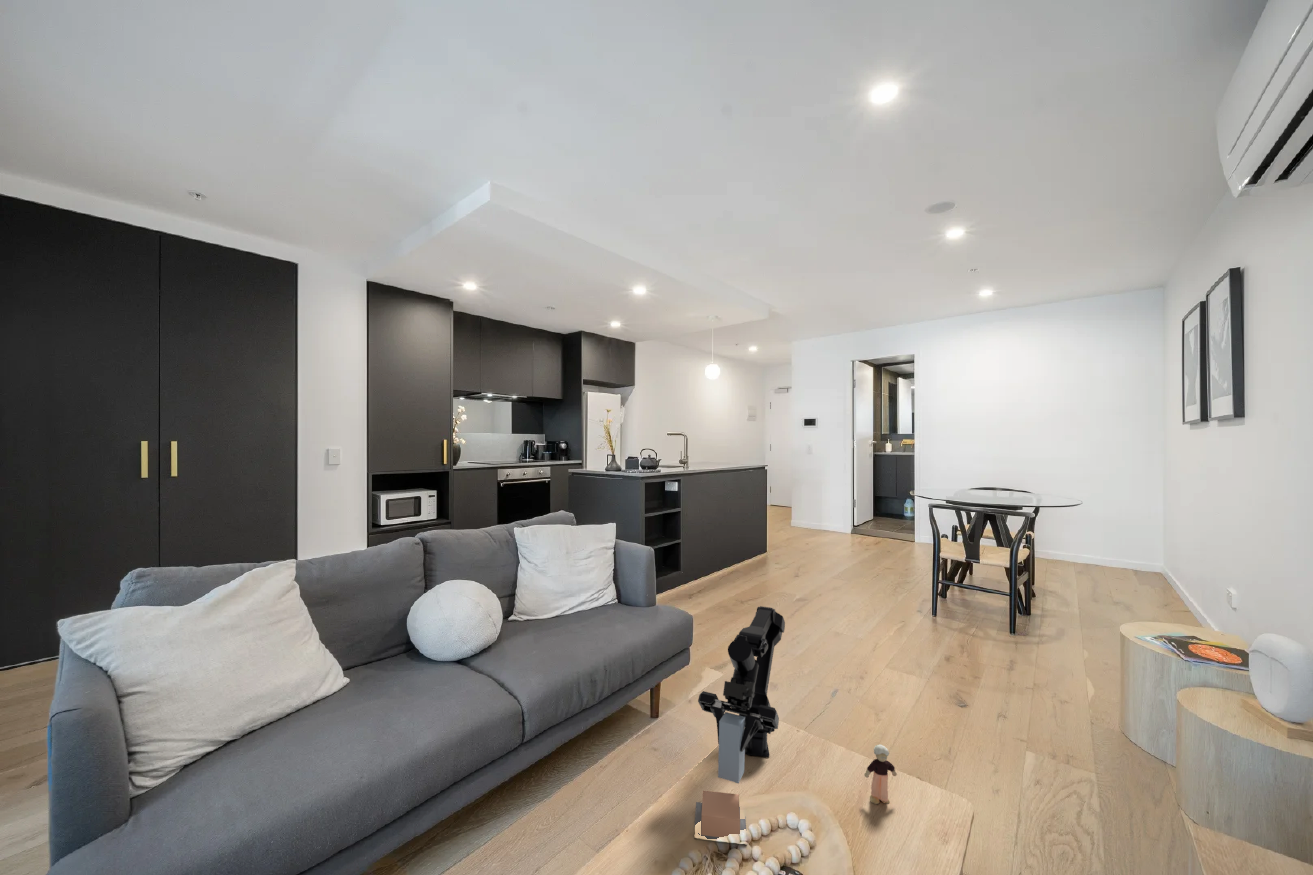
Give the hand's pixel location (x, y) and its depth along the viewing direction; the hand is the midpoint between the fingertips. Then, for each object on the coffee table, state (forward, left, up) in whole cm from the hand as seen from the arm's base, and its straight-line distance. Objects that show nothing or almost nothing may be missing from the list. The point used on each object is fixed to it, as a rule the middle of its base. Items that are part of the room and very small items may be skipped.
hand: (730, 748), depth 115 cm
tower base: (+6, -2, -14) cm, 15 cm away
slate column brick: (-1, 0, -7) cm, 7 cm away
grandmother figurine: (-9, +36, -14) cm, 40 cm away
